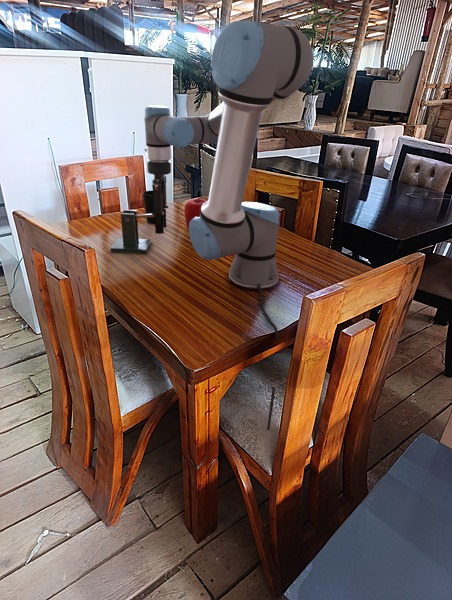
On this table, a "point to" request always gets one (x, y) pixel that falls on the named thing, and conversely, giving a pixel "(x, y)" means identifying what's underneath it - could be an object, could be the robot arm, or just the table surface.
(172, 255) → the table surface
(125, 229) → the stand
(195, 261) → the table surface
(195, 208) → the apple
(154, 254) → the table surface
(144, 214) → the switch lever
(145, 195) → the cup
